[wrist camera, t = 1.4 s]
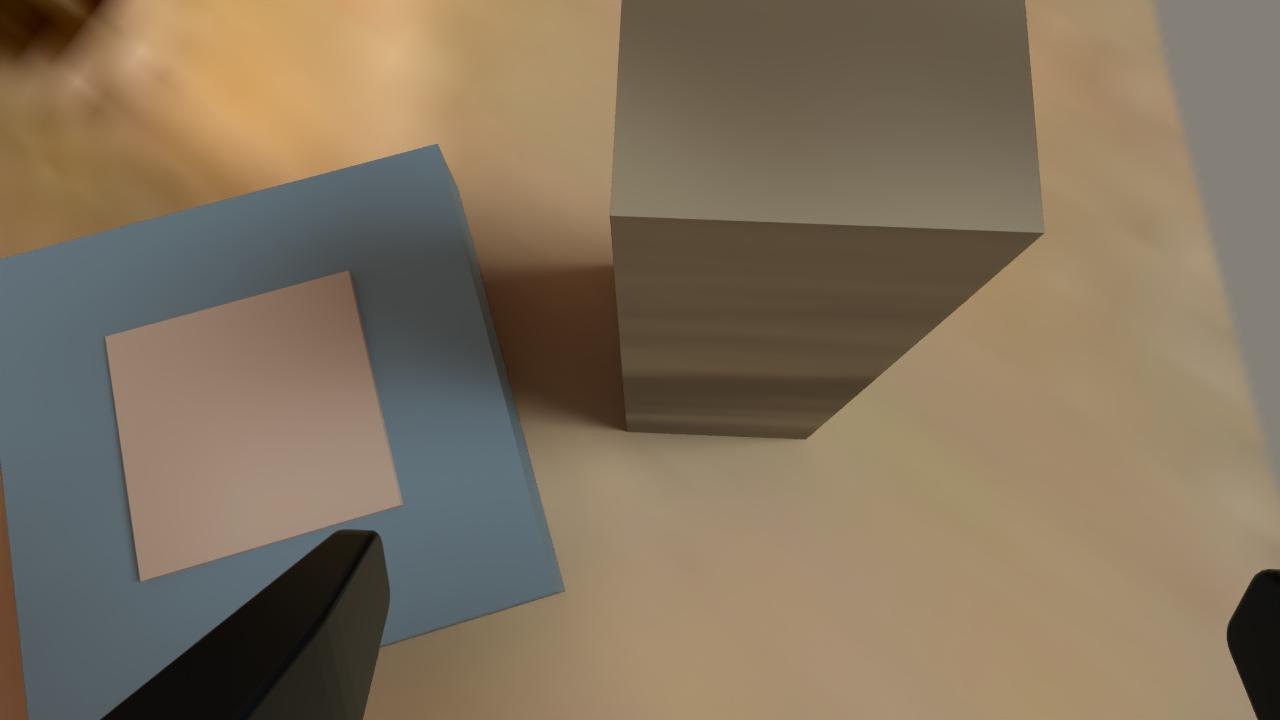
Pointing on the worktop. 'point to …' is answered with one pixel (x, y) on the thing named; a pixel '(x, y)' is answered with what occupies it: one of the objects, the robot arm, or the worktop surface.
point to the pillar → (807, 196)
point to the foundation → (255, 423)
